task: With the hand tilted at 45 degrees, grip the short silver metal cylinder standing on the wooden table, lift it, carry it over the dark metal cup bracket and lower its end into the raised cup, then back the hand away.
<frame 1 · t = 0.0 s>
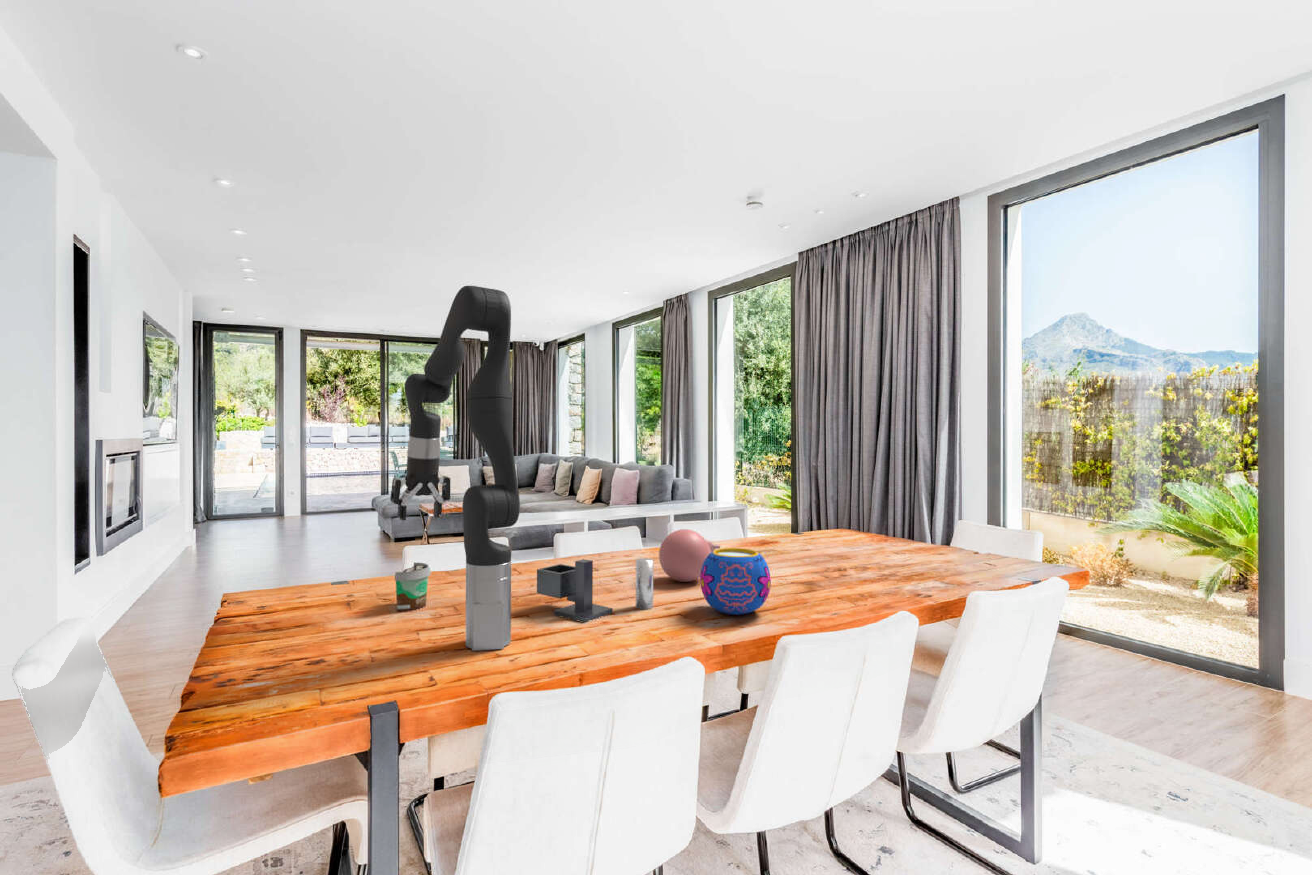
hand: (419, 518, 161), 22 cm above the table, tool pointing down, fingers open, 8 cm apart
food container: (417, 607, 162), on the table
ceramic pot: (734, 612, 159), on the table
balloon: (691, 581, 192), on the table
silver metal cylinder: (644, 607, 163), on the table
cup bracket: (560, 608, 161), on the table
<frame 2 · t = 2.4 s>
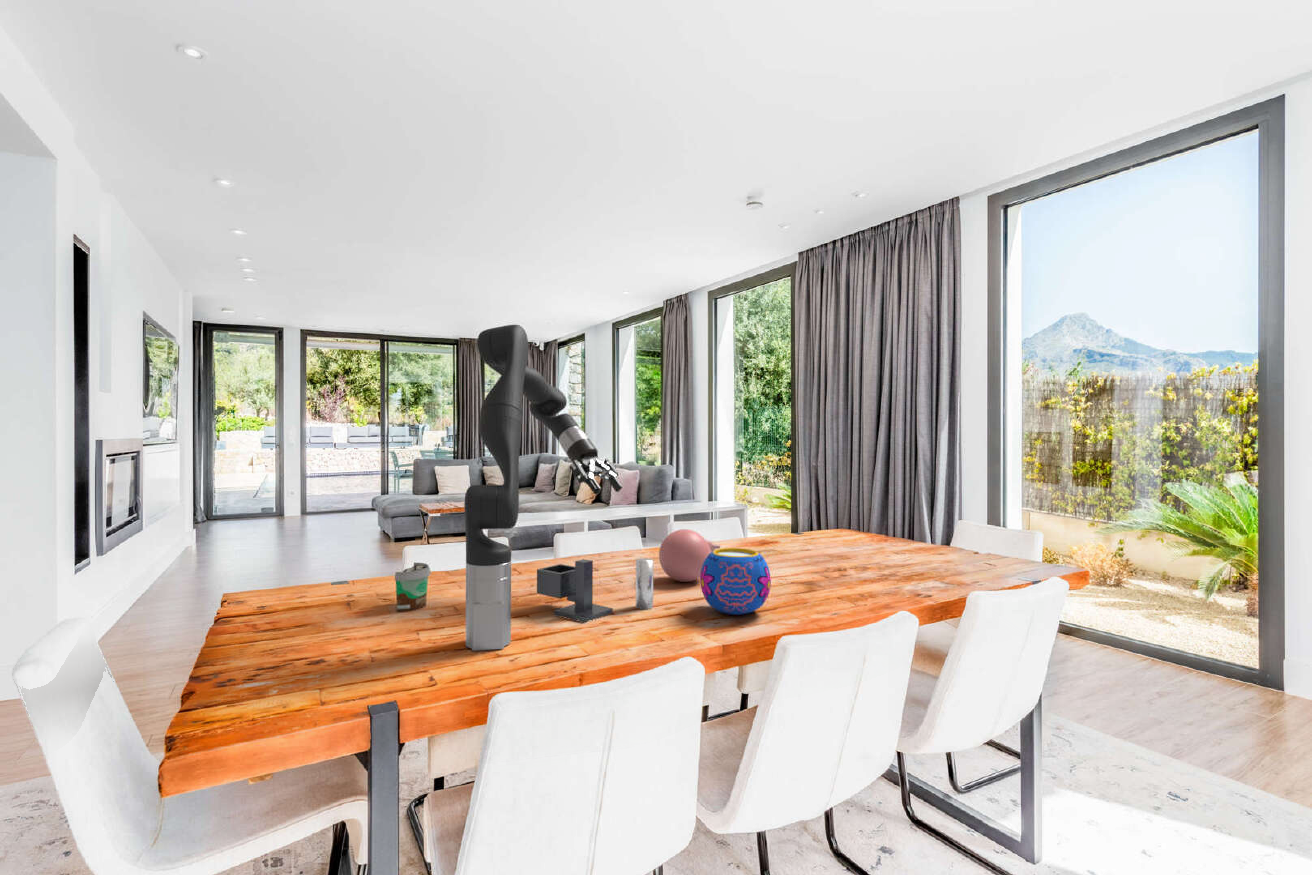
hand: (609, 491, 170), 29 cm above the table, tool tilted 45°, fingers open, 8 cm apart
nothing on the table moved.
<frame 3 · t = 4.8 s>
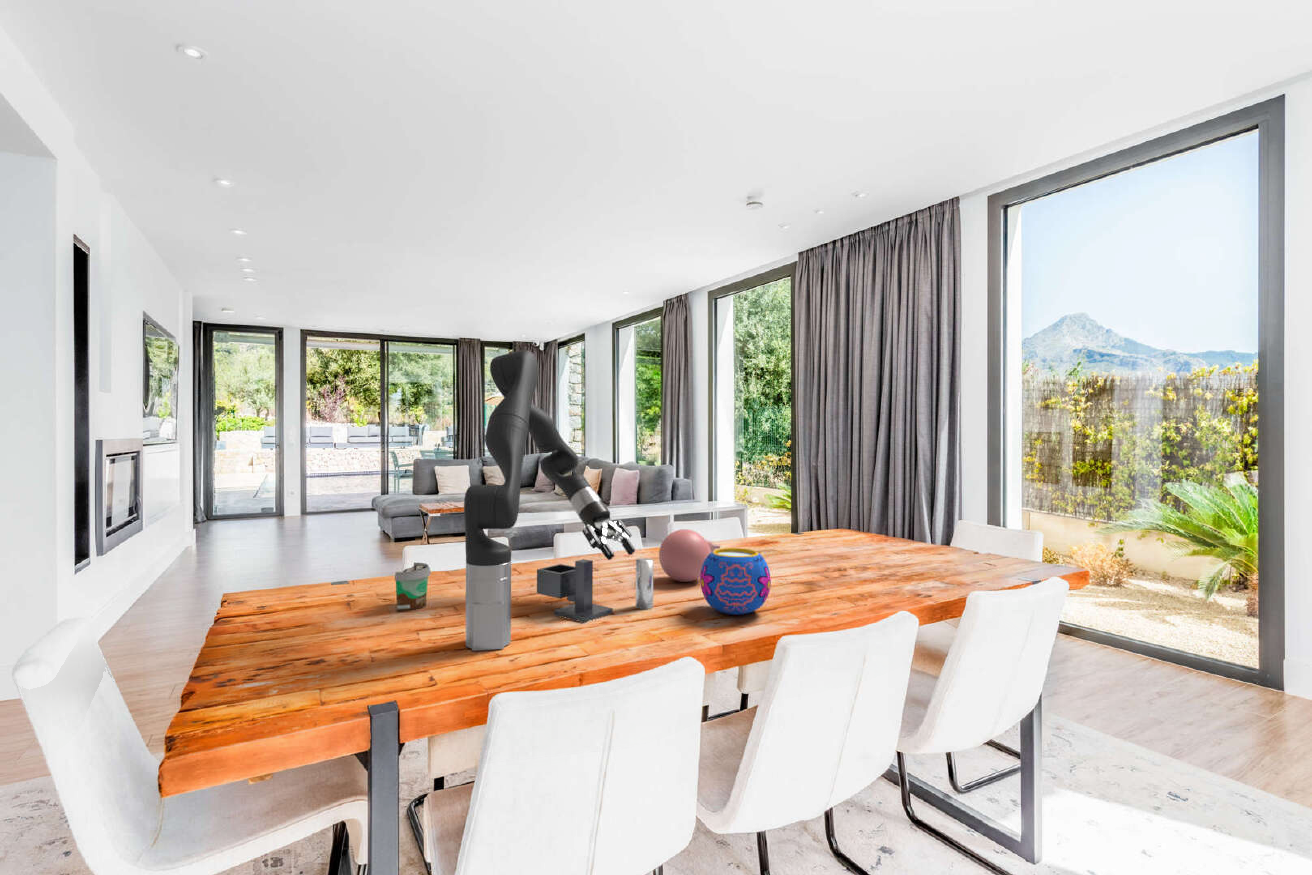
hand: (622, 555, 167), 12 cm above the table, tool tilted 45°, fingers open, 8 cm apart
nothing on the table moved.
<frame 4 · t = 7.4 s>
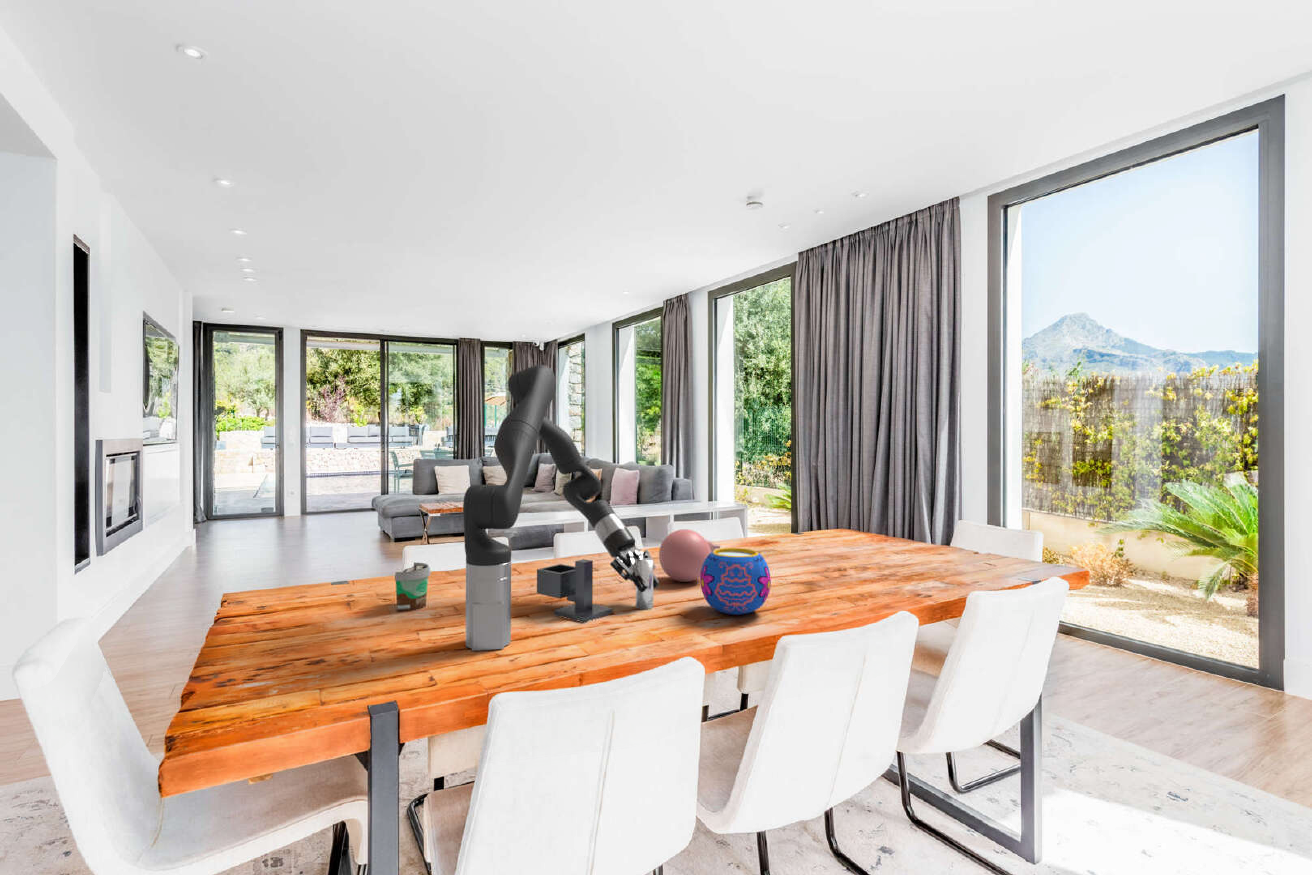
hand: (650, 588, 162), 5 cm above the table, tool tilted 45°, fingers closed on silver metal cylinder, 4 cm apart
silver metal cylinder: (644, 606, 163), on the table, touching gripper
everything else where it was.
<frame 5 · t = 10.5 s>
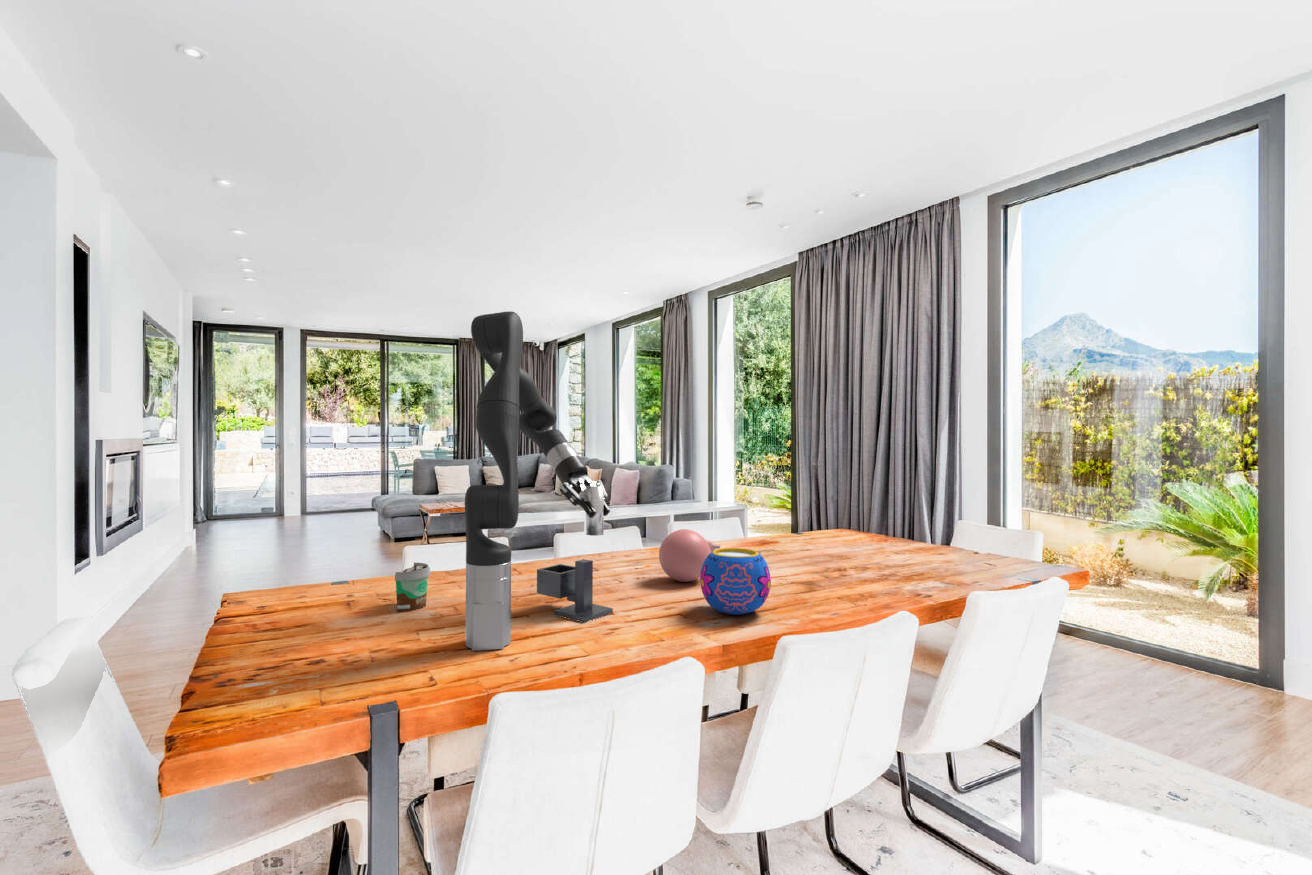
hand: (600, 514, 160), 24 cm above the table, tool tilted 45°, fingers closed on silver metal cylinder, 4 cm apart
silver metal cylinder: (594, 534, 161), point 19 cm above the table, touching gripper
everything else where it was.
when the fingers open (12 cm above the table, at t = 13.9 s): silver metal cylinder drops 1 cm, resting on cup bracket.
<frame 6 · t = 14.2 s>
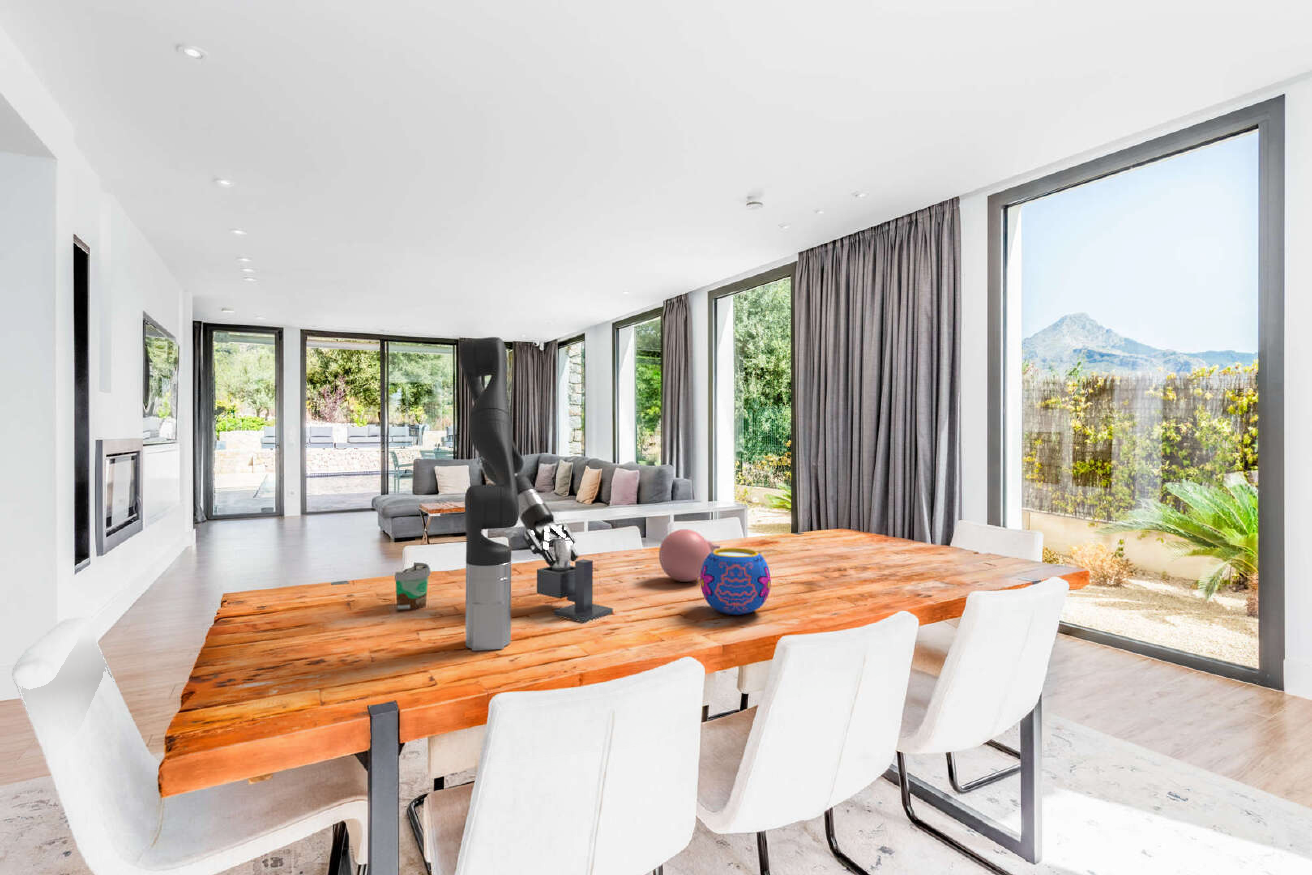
hand: (564, 561, 160), 12 cm above the table, tool tilted 45°, fingers open, 7 cm apart
silver metal cylinder: (559, 588, 161), point 5 cm above the table, touching cup bracket
everything else where it was.
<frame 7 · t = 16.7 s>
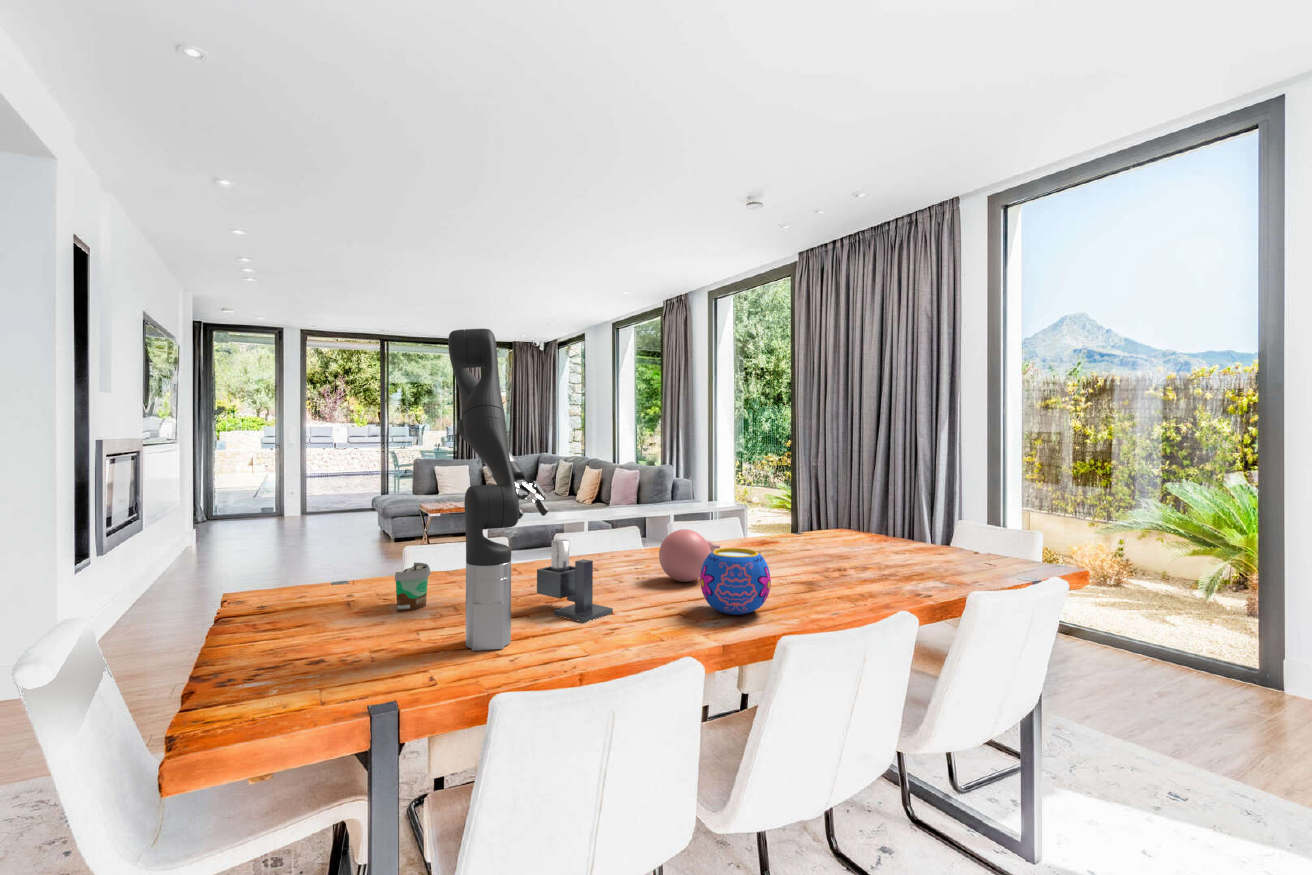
hand: (533, 515, 166), 23 cm above the table, tool tilted 45°, fingers open, 8 cm apart
nothing on the table moved.
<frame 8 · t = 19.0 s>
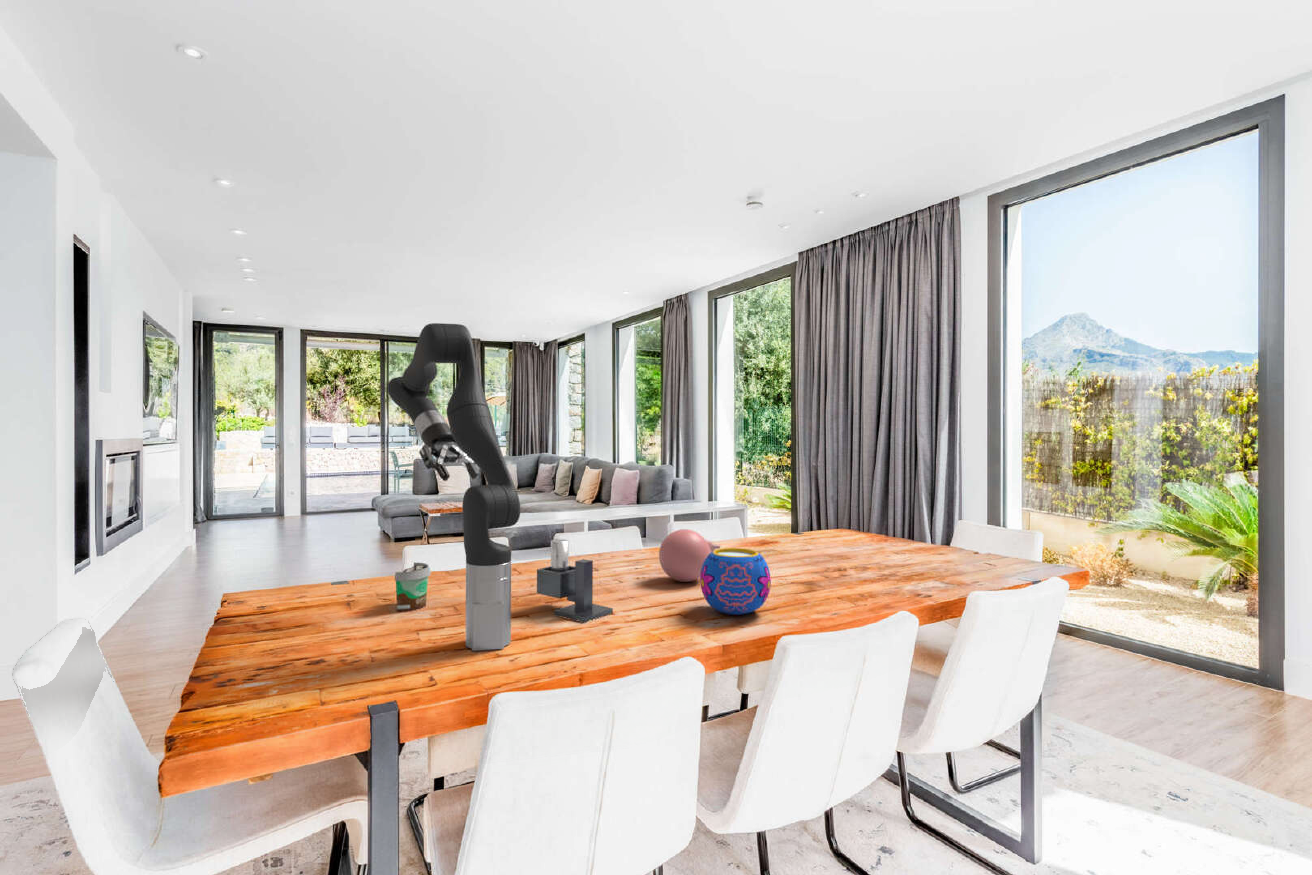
hand: (461, 477, 161), 33 cm above the table, tool tilted 45°, fingers open, 8 cm apart
nothing on the table moved.
at the end: silver metal cylinder 0.1 cm off-centre on the cup bracket, point 5.1 cm above the cup bracket's base; silver metal cylinder tilted 1°; the gripper is holding nothing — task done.
